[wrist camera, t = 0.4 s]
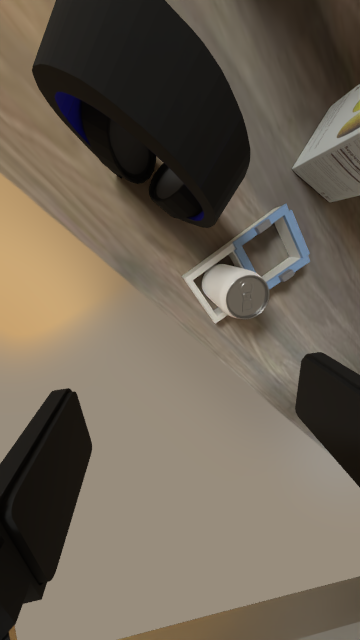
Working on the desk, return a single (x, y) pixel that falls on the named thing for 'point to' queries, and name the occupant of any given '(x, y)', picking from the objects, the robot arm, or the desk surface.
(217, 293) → the can
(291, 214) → the block
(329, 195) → the supplement box
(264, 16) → the desk surface
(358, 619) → the robot arm
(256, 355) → the desk surface
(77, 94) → the headphones
